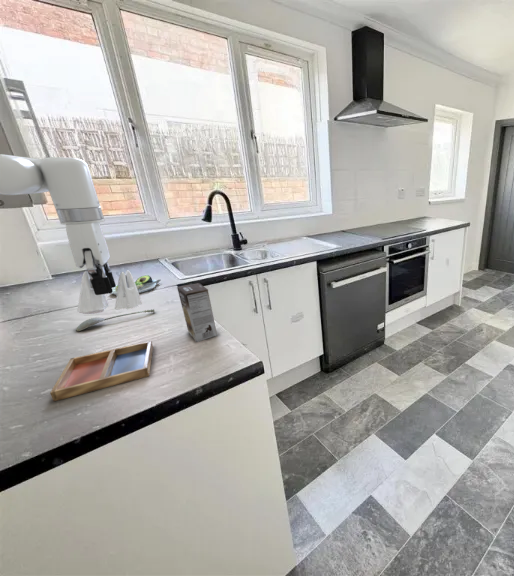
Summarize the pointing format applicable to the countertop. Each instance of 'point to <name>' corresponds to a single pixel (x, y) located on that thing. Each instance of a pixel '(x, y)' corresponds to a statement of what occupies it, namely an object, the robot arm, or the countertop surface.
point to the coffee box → (197, 311)
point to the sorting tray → (103, 370)
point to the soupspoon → (97, 320)
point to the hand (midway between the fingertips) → (106, 290)
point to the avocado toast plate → (141, 284)
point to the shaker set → (97, 303)
